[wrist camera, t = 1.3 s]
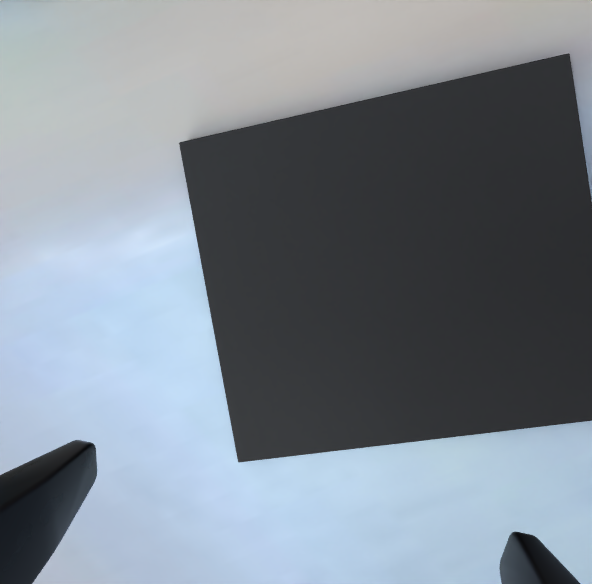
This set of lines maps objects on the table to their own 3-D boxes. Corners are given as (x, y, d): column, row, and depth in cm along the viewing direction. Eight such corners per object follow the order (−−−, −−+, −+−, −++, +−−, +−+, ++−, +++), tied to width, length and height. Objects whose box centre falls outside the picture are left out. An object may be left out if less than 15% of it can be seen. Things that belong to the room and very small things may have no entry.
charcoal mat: (616, 413, 21) (624, 417, 21) (240, 457, 24) (237, 462, 23) (563, 58, 21) (569, 52, 20) (182, 145, 23) (178, 142, 23)
